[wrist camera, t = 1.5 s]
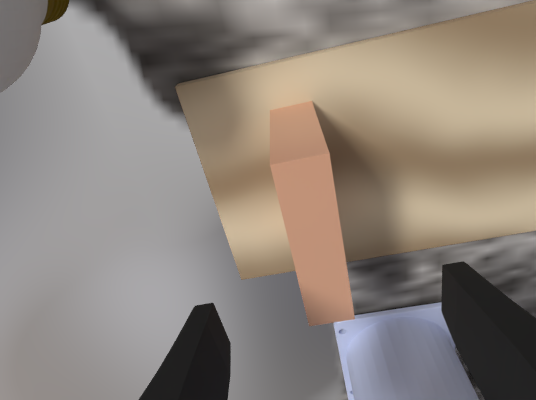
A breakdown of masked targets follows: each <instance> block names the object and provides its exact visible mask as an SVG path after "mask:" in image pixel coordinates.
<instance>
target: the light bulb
mask: <svg viewBox="0 0 536 400" xmlns="http://www.w3.org/2000/svg"><path fill="white" fill-rule="evenodd" d="M68 4H69V0H0V92H2V91H4V90H5V89H7V88H8V87H9V86H10V85H12V84H13V83H14V82H15V81H16V80H17V79H18V78H19V77H20V76H21V75H22V74H23V72H24V71H25V70H26V69H27V67H28V66H29V64H30V62H31V60H32V58H33V56H34V54H35V52H36V50H37V46H38V42H39V39H40V34H41V25H43V24H47V23H50V22H52V21H55V20H57V19H59V18H60V17H61V16H62V15H63V14H64V13H65V12H66V10H67V7H68Z"/></svg>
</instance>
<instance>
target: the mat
mask: <svg viewBox="0 0 536 400" xmlns="http://www.w3.org/2000/svg"><path fill="white" fill-rule="evenodd" d="M175 89H176V92H177V94H178V97H179V100H180V103H181V106H182V109H183V112H184V115H185V118H186V120H187V123H188V126H189V129H190V132H191V135H192V138H193V141H194V144H195V146H196V149H197V152H198V155H199V158H200V161H201V164H202V167H203V170H204V173H205V175H206V178H207V181H208V184H209V187H210V190H211V193H212V195H213V198H214V201H215V204H216V207H217V210H218V213H219V216H220V218H221V222H222V225H223V227H224V230H225V233H226V236H227V239H228V242H229V245H230V248H231V250H232V253H233V256H234V259H235V262H236V265H237V268H238V271H239V274H240V276H241V279H242V280H243V279H249V278H255V277H261V276H267V275H273V274H279V273H285V272H291V271H296V270H295V265H294V261H293V257H292V253H291V249H290V245H289V241H288V237H287V233H286V229H285V225H284V220H283V216H282V212H281V208H280V204H279V200H278V196H277V192H276V188H275V184H274V180H273V175H272V171H271V167H270V110H273V109H277V108H282V107H287V106H291V105H296V104H300V103H305V102H309V101H312V103H313V106H314V109H315V112H316V115H317V118H318V121H319V124H320V127H321V129H322V132H323V135H324V138H325V141H326V144H327V147H328V150H329V153H330V160H331V166H332V173H333V179H334V186H335V192H336V199H337V206H338V212H339V219H340V225H341V232H342V238H343V245H344V251H345V258H346V262H351V261H357V260H363V259H369V258H375V257H381V256H387V255H393V254H399V253H405V252H411V251H417V250H422V249H428V248H434V247H440V246H446V245H452V244H458V243H464V242H470V241H476V240H482V239H488V238H494V237H500V236H506V235H512V234H518V233H524V232H530V231H536V0H533V1H529V2H525V3H520V4H516V5H512V6H508V7H503V8H499V9H495V10H490V11H486V12H482V13H478V14H473V15H469V16H465V17H461V18H456V19H452V20H448V21H444V22H439V23H435V24H431V25H426V26H422V27H418V28H414V29H409V30H405V31H401V32H397V33H392V34H388V35H384V36H379V37H375V38H371V39H367V40H362V41H358V42H354V43H350V44H345V45H341V46H337V47H332V48H328V49H324V50H320V51H315V52H311V53H307V54H303V55H298V56H294V57H290V58H285V59H281V60H277V61H273V62H268V63H264V64H260V65H256V66H251V67H247V68H243V69H238V70H234V71H230V72H226V73H221V74H217V75H213V76H209V77H204V78H200V79H196V80H191V81H187V82H183V83H179V84H177V85H176V86H175Z"/></svg>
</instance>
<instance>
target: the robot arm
mask: <svg viewBox="0 0 536 400" xmlns="http://www.w3.org/2000/svg"><path fill="white" fill-rule="evenodd" d="M354 316H355V319H354V320H347V321H340V322H334V329H335V334H336V339H337V344H338V349H339V354H340V359H341V364H342V369H343V374H344V379H345V385H346V390H347V395H348V400H479V398H478V396H477V394H476V392H475V390H474V388H473V386H472V384H471V382H470V380H469V378H468V376H467V374H466V372H465V370H464V368H463V366H462V364H461V362H460V360H459V358H458V356H457V354H456V352H455V345H456V347H457V349H458V351H459V353H460V355H461V357H462V358H463V360H464V362H465V364H466V366H467V368H468V369H469V371H470V373H471V375H472V377H473V378H474V380H475V382H476V384H477V386H478V387H479V389H480V391H481V393H482V395H483V397H484V398H485V400H536V318H535V317H533V316H532V315H531V314H529V313H528V312H527V311H525V310H524V309H523V308H521V307H520V306H519V305H517V304H516V303H515V302H513V301H512V300H511V299H510V298H508V297H507V296H506V295H504V294H503V293H502V292H501V291H499V290H498V289H497V288H496V287H494V286H493V285H492V284H491V283H490V282H488V281H487V280H486V279H485V278H483V277H482V276H481V275H480V274H479V273H477V272H476V271H475V270H474V269H473V268H471V267H470V266H469V265H468V264H466V263H465V262H458V263H452V264H445V265H443V266H442V302H439V303H433V304H426V305H419V306H413V307H406V308H399V309H393V310H386V311H380V312H373V313H366V314H360V315H354ZM341 329H342V330H341ZM229 382H230V341H229V339H228V336H227V334H226V332H225V329H224V327H223V325H222V322H221V320H220V318H219V315H218V313H217V311H216V308H215V306H214V304H213V303H209V304H203V305H197V306H195V307H194V308H193V310H192V312H191V313H190V315H189V317H188V319H187V321H186V323H185V325H184V326H183V328H182V330H181V332H180V334H179V335H178V337H177V339H176V341H175V342H174V344H173V346H172V348H171V349H170V351H169V353H168V354H167V356H166V358H165V359H164V361H163V363H162V365H161V366H160V368H159V369H158V371H157V373H156V374H155V376H154V377H153V379H152V380H151V382H150V383H149V385H148V386H147V388H146V390H145V391H144V393H143V394H142V396H141V397H140V399H139V400H227V399H228V389H229Z"/></svg>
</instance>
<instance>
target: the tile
mask: <svg viewBox="0 0 536 400" xmlns="http://www.w3.org/2000/svg"><path fill="white" fill-rule="evenodd" d="M270 167H271V171H272V175H273V180H274V184H275V188H276V192H277V196H278V200H279V204H280V208H281V212H282V216H283V220H284V225H285V229H286V233H287V237H288V241H289V245H290V249H291V253H292V257H293V261H294V265H295V270H296V274H297V278H298V282H299V286H300V290H301V294H302V298H303V302H304V306H305V310H306V314H307V319H308V323H309V326H314V325H320V324H326V323H334V322H340V321H347V320H354V319H355V316H354V310H353V303H352V297H351V290H350V284H349V277H348V271H347V264H346V258H345V251H344V245H343V238H342V232H341V225H340V219H339V212H338V206H337V199H336V192H335V186H334V179H333V173H332V166H331V160H330V153H329V150H328V147H327V144H326V141H325V138H324V135H323V132H322V129H321V127H320V124H319V121H318V118H317V115H316V112H315V109H314V106H313V103H312V101H309V102H305V103H300V104H296V105H291V106H287V107H282V108H277V109H273V110H270Z"/></svg>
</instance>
